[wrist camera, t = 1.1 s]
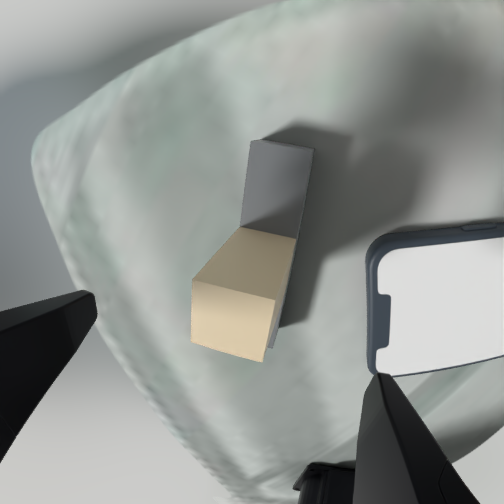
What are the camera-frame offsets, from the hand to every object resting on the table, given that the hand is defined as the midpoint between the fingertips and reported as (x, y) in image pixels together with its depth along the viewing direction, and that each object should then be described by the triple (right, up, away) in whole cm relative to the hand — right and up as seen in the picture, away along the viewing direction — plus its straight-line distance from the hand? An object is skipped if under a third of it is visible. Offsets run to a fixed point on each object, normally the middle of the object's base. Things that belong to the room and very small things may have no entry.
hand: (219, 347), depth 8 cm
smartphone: (+15, 0, +5) cm, 16 cm away
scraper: (+2, +3, +7) cm, 8 cm away
